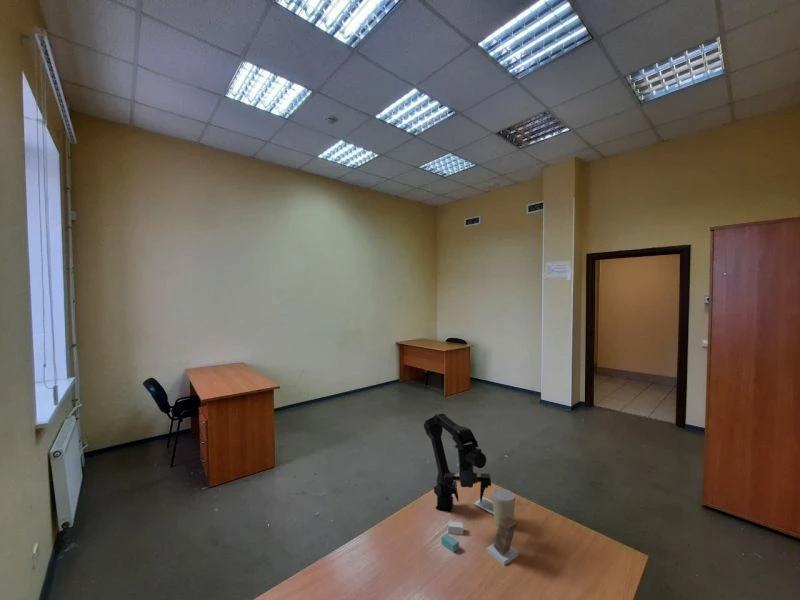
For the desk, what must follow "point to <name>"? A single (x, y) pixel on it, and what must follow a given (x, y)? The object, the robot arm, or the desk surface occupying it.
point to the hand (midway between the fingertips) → (469, 501)
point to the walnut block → (505, 534)
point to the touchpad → (485, 505)
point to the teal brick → (449, 542)
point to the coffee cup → (503, 504)
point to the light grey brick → (455, 528)
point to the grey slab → (505, 557)
